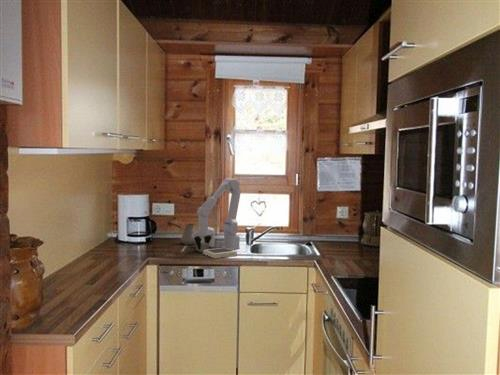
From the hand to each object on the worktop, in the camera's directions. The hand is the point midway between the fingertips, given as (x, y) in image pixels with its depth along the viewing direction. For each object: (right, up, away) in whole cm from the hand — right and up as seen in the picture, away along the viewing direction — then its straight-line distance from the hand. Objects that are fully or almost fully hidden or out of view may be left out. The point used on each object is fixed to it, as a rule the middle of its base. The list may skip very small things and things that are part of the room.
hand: (202, 248), depth 279 cm
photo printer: (+1, -1, +14) cm, 14 cm away
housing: (0, -1, 0) cm, 1 cm away
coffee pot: (-14, 0, +18) cm, 23 cm away
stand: (+11, -2, -10) cm, 15 cm away
